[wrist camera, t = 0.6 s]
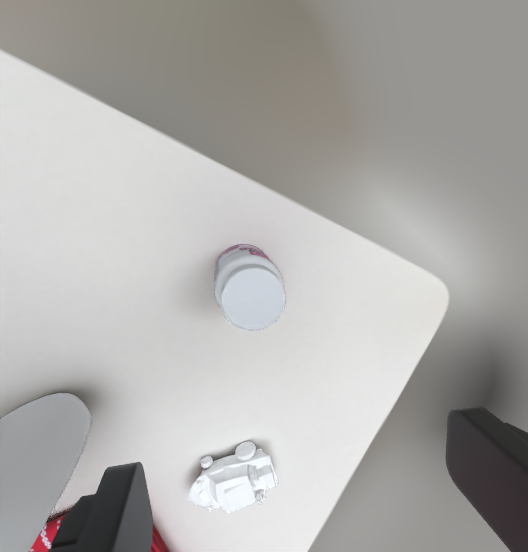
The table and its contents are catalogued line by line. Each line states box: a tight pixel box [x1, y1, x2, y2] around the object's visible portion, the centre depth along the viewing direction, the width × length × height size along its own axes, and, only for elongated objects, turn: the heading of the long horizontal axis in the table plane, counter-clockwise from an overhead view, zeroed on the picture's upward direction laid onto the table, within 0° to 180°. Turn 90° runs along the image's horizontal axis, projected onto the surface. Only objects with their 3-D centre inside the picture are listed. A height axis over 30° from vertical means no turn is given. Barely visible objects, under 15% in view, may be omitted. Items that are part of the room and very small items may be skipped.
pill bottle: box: [214, 244, 286, 330], centre depth 25 cm, size 5×5×8 cm
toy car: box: [188, 442, 278, 513], centre depth 31 cm, size 5×8×4 cm, turn 106°
